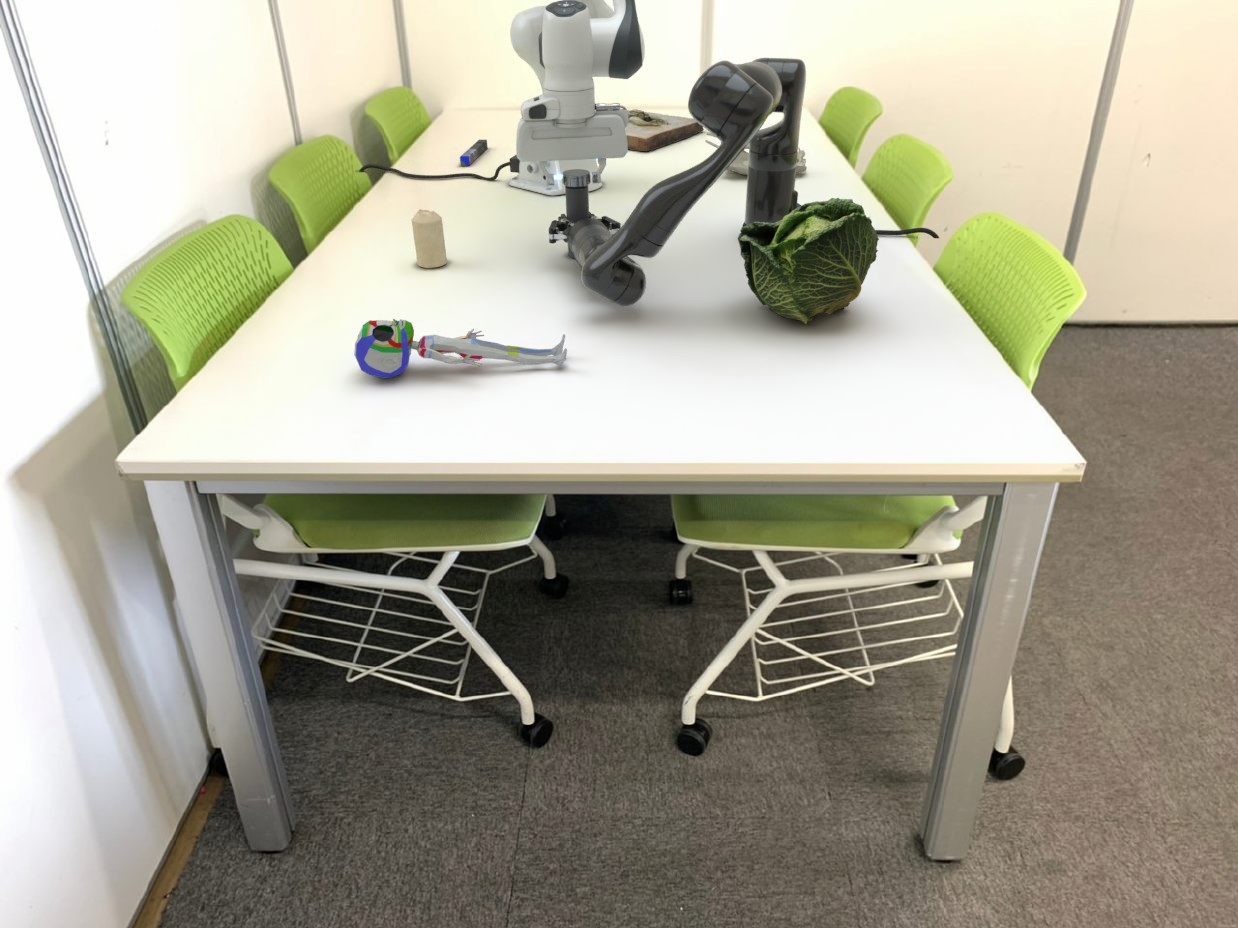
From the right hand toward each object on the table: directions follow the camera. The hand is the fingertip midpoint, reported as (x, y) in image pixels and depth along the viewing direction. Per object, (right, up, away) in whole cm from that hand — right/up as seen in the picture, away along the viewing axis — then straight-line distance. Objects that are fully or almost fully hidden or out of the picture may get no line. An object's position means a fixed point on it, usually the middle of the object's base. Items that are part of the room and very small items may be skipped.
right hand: (575, 218), depth 172 cm
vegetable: (+39, -22, -24) cm, 51 cm away
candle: (-27, -9, -2) cm, 29 cm away
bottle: (+1, -7, +1) cm, 7 cm away
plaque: (+13, +48, +87) cm, 100 cm away
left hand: (0, +5, -6) cm, 8 cm away
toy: (-14, -33, -40) cm, 54 cm away
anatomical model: (+42, +25, +51) cm, 70 cm away
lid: (+1, +6, -7) cm, 9 cm away
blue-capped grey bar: (-30, +35, +69) cm, 83 cm away
